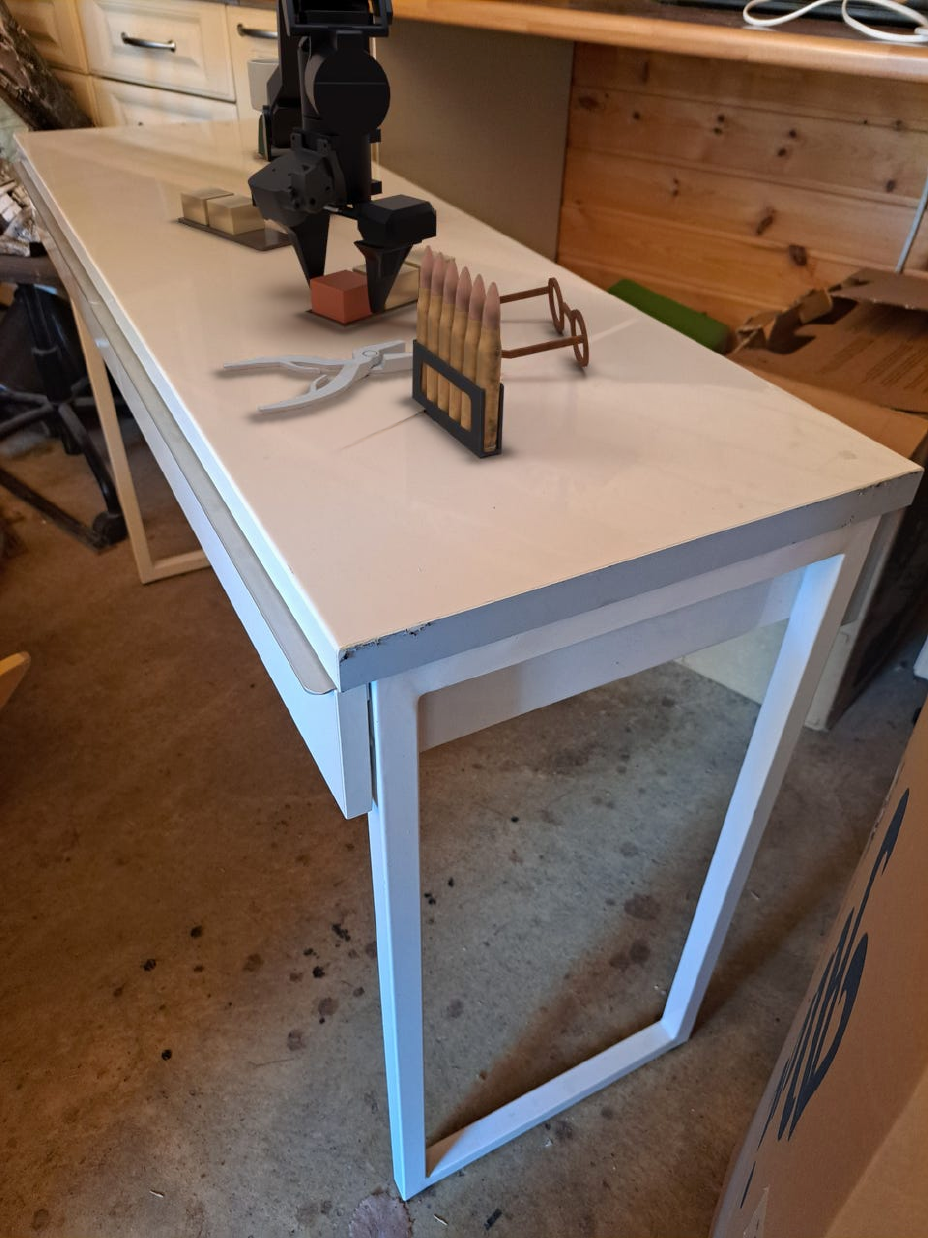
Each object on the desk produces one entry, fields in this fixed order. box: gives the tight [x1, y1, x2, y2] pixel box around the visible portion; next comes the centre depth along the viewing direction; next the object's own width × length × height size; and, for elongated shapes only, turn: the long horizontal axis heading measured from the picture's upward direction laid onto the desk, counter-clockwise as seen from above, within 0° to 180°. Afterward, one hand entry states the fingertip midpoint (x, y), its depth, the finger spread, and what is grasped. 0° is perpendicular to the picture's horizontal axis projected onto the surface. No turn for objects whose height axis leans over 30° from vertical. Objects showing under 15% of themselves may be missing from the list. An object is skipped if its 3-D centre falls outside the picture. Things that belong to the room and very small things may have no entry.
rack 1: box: [177, 185, 292, 252], centre depth 104 cm, size 16×6×3 cm, turn 49°
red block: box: [309, 269, 373, 324], centre depth 83 cm, size 5×5×3 cm
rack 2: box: [304, 247, 456, 328], centre depth 86 cm, size 16×6×3 cm, turn 139°
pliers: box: [222, 339, 413, 415], centre depth 72 cm, size 10×2×15 cm
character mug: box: [246, 57, 279, 157], centre depth 134 cm, size 11×7×13 cm, turn 26°
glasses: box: [499, 276, 590, 368], centre depth 77 cm, size 13×13×5 cm
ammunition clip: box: [411, 244, 505, 459], centre depth 63 cm, size 11×2×12 cm, turn 30°
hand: (345, 301), depth 83 cm, fingers open, 8 cm apart
